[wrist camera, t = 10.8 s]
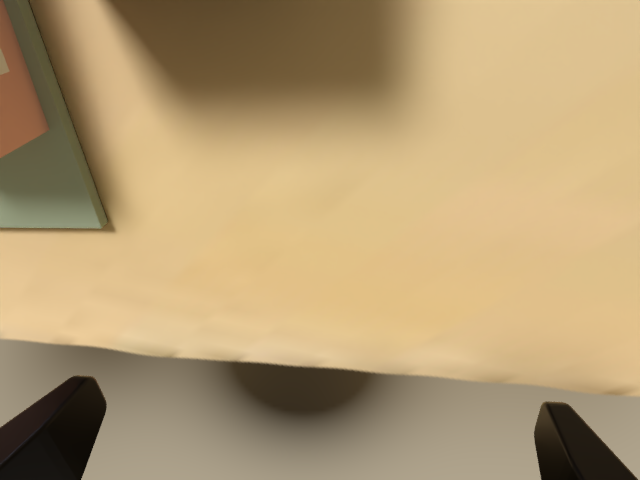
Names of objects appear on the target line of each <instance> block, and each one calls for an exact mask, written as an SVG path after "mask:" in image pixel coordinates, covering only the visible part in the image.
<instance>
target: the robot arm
mask: <svg viewBox="0 0 640 480" xmlns="http://www.w3.org/2000/svg"><path fill="white" fill-rule="evenodd" d="M105 412H106V400H105V397H104V395H103V393H102V391H101V389H100V387H99V385H98V383H97V381H96V379H95V378H94V377H91V376H80V375H77V376H73V377H71V378H69V379H68V380H66V381H65V382H64V383H62V384H61V385H59V386H58V387H57V388H55V389H54V390H52V391H51V392H49V393H48V394H47V395H45V396H44V397H42V398H41V399H40V400H38V401H37V402H36V403H34V404H33V405H31V406H30V407H29V408H27V409H26V410H24V411H23V412H21V413H20V414H19V415H17V416H16V417H14V418H13V419H12V420H10V421H9V422H7V423H6V424H5V425H3V426H2V427H0V480H81V478H82V476H83V473H84V471H85V468H86V465H87V462H88V459H89V457H90V454H91V451H92V448H93V446H94V443H95V440H96V437H97V434H98V432H99V429H100V426H101V424H102V421H103V418H104V415H105ZM534 438H535V445H536V451H537V457H538V463H539V468H540V474H541V480H638V479H637V478H636V477H635V476H634V475H633V474H632V472H631V471H630V470H629V469H628V468H627V467H626V466H625V465H624V464H623V463H622V462H621V461H620V459H619V458H618V457H617V456H616V455H615V454H614V453H613V452H612V451H611V450H610V449H609V448H608V446H606V444H605V443H604V442H603V441H602V440H601V439H600V438H599V437H598V436H597V435H596V433H595V432H594V431H593V430H592V429H591V428H590V427H589V426H588V425H587V424H586V423H585V421H584V420H583V419H582V418H581V417H580V416H579V415H578V414H577V413H576V412H575V411H574V410H573V408H572V407H571V406H569V405H568V404H566V403H563V402H544V403H543V404H542V405H541V409H540V412H539V415H538V419H537V422H536V426H535V431H534Z"/></svg>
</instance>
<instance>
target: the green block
mask: <svg viewBox="0 0 640 480" xmlns="http://www.w3.org/2000/svg"><path fill="white" fill-rule="evenodd" d="M3 1H4V4H5V6H6V9H7V12H8V15H9V18H10V20H11V23H12V26H13V29H14V32H15V34H16V37H17V40H18V43H19V46H20V48H21V51H22V54H23V57H24V60H25V62H26V65H27V68H28V71H29V73H30V76H31V79H32V82H33V85H34V87H35V90H36V93H37V96H38V99H39V101H40V104H41V107H42V110H43V113H44V115H45V118H46V121H47V124H48V127H49V129H50V130H49V131H47V132H45V133H43V134H42V135H40V136H38V137H36V138H35V139H33V140H31V141H29V142H28V143H26V144H24V145H22V146H21V147H19V148H17V149H15V150H14V151H12V152H10V153H8V154H7V155H5V156H3V157H1V158H0V228H102V227H103V226H104V225H105V224H106V223H107V222H108V221H107V218H106V215H105V212H104V210H103V207H102V204H101V201H100V199H99V196H98V193H97V190H96V188H95V185H94V182H93V179H92V176H91V174H90V171H89V168H88V165H87V163H86V160H85V157H84V154H83V151H82V149H81V146H80V143H79V140H78V138H77V135H76V132H75V129H74V126H73V124H72V121H71V118H70V115H69V113H68V110H67V107H66V104H65V102H64V99H63V96H62V93H61V90H60V88H59V85H58V82H57V79H56V77H55V74H54V71H53V68H52V65H51V63H50V60H49V57H48V54H47V52H46V49H45V46H44V43H43V40H42V38H41V35H40V32H39V29H38V27H37V24H36V21H35V18H34V15H33V13H32V10H31V7H30V4H29V2H28V0H3Z"/></svg>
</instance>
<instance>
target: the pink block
mask: <svg viewBox="0 0 640 480" xmlns="http://www.w3.org/2000/svg"><path fill="white" fill-rule="evenodd" d="M49 130H50V129H49V127H48V124H47V121H46V118H45V115H44V113H43V110H42V107H41V104H40V101H39V99H38V96H37V93H36V90H35V87H34V85H33V82H32V79H31V76H30V73H29V71H28V68H27V65H26V62H25V60H24V57H23V54H22V51H21V48H20V46H19V43H18V40H17V37H16V34H15V32H14V29H13V26H12V23H11V20H10V18H9V15H8V12H7V9H6V6H5V4H4V1H3V0H0V158H1V157H3V156H5V155H7V154H8V153H10V152H12V151H14V150H15V149H17V148H19V147H21V146H22V145H24V144H26V143H28V142H29V141H31V140H33V139H35V138H36V137H38V136H40V135H42V134H43V133H45V132H47V131H49Z"/></svg>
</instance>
